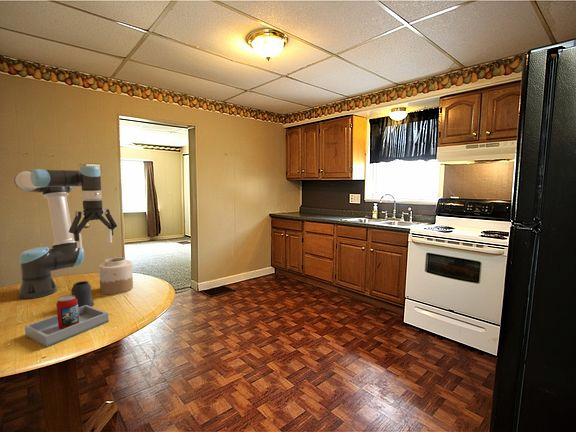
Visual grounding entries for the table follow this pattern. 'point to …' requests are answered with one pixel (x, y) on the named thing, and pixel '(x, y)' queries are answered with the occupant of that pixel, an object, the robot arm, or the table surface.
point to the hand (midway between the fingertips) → (95, 245)
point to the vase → (115, 276)
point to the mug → (82, 293)
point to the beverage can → (67, 311)
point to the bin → (52, 334)
